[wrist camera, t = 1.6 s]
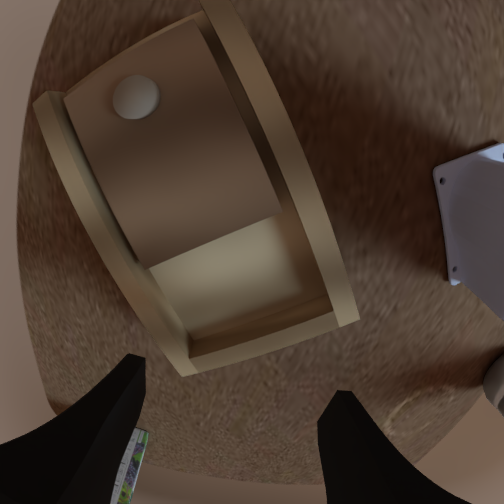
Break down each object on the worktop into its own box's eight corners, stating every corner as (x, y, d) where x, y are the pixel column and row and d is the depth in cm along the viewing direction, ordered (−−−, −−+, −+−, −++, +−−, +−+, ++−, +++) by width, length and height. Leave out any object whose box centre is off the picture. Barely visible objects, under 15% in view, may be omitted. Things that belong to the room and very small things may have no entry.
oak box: (339, 279, 20) (360, 319, 15) (194, 331, 21) (182, 376, 17) (229, 20, 13) (221, -14, 9) (76, 106, 15) (32, 104, 11)
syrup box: (145, 450, 29) (121, 547, 16) (101, 434, 28) (68, 526, 15) (149, 431, 27) (120, 542, 14) (100, 412, 26) (58, 517, 13)
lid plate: (280, 204, 15) (284, 216, 13) (153, 258, 16) (139, 277, 14) (199, 28, 11) (189, 12, 9) (78, 100, 12) (54, 97, 10)
